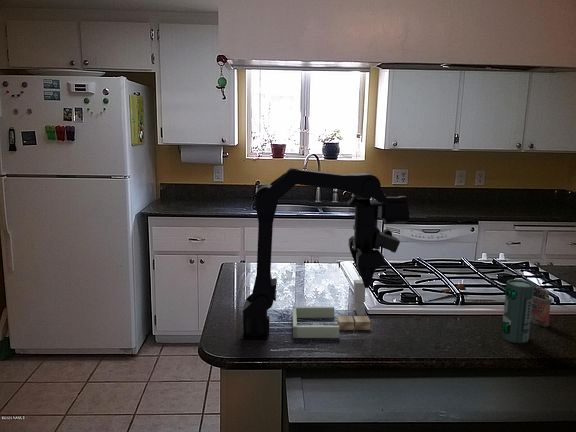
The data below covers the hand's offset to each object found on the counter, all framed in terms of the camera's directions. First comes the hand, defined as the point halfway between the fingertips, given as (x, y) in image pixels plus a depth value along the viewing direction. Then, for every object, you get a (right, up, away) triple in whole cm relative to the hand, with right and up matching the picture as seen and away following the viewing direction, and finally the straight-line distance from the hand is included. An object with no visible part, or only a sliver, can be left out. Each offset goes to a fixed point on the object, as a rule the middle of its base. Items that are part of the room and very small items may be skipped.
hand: (364, 281), depth 122 cm
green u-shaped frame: (-12, -13, +8) cm, 20 cm away
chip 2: (+1, -14, +8) cm, 16 cm away
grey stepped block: (+2, -11, +20) cm, 23 cm away
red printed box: (+51, -13, +12) cm, 54 cm away
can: (+40, -15, +1) cm, 42 cm away
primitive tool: (+30, -10, +31) cm, 44 cm away
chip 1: (-4, -14, +8) cm, 16 cm away
